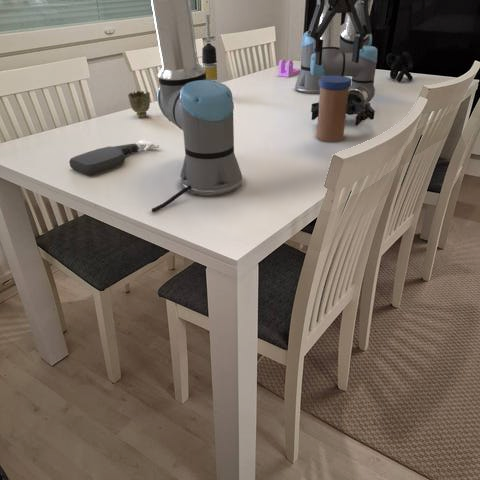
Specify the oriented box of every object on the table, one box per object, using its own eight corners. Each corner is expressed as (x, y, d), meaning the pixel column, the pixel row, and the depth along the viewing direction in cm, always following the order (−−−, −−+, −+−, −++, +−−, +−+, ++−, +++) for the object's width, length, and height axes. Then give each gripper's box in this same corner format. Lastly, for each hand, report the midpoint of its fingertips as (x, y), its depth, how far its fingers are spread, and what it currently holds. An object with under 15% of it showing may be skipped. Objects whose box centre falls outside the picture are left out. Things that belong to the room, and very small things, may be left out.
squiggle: (400, 92, 202) (376, 71, 205) (417, 76, 202) (392, 56, 205) (405, 81, 191) (380, 59, 194) (423, 64, 191) (397, 42, 194)
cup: (126, 117, 158) (123, 94, 154) (140, 112, 164) (137, 89, 160) (143, 120, 155) (140, 96, 151) (156, 114, 161) (153, 91, 157)
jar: (347, 136, 138) (353, 79, 129) (336, 143, 133) (342, 85, 124) (323, 131, 142) (327, 76, 133) (312, 139, 137) (316, 82, 128)
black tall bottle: (220, 99, 177) (217, 15, 161) (206, 100, 176) (202, 16, 160) (215, 96, 182) (212, 14, 166) (202, 97, 180) (197, 14, 164)
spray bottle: (67, 168, 120) (139, 144, 136) (91, 178, 114) (163, 151, 130) (65, 157, 118) (137, 134, 134) (89, 167, 112) (162, 142, 128)
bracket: (288, 77, 209) (289, 61, 205) (278, 75, 212) (278, 60, 208) (302, 72, 218) (303, 57, 214) (292, 70, 221) (293, 55, 217)
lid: (355, 84, 130) (356, 77, 129) (343, 91, 124) (344, 84, 123) (326, 80, 135) (327, 74, 134) (313, 87, 128) (313, 80, 127)
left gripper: (308, -27, 109) (303, 68, 121) (393, -29, 113) (380, 63, 125) (297, -27, 115) (293, 63, 127) (378, -29, 120) (367, 58, 131)
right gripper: (389, 116, 147) (374, 136, 131) (317, 108, 157) (295, 125, 142) (393, 93, 143) (377, 110, 127) (319, 86, 153) (296, 101, 138)
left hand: (336, 63), depth 126 cm, fingers open, 10 cm apart
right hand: (334, 118), depth 134 cm, fingers open, 13 cm apart
